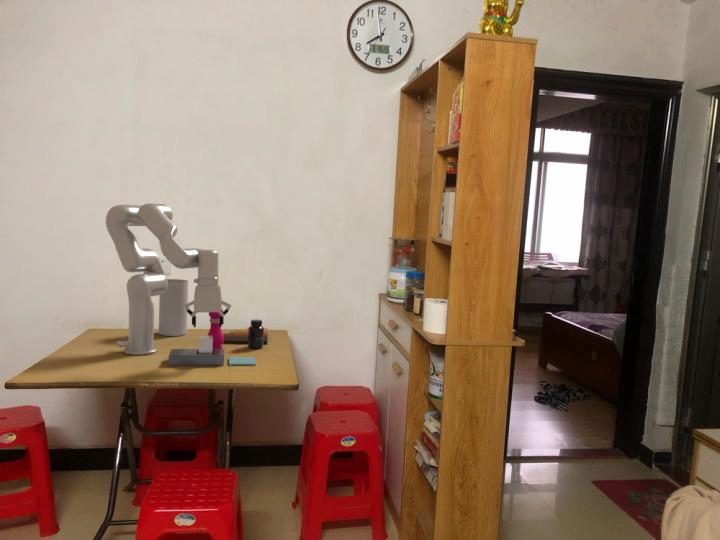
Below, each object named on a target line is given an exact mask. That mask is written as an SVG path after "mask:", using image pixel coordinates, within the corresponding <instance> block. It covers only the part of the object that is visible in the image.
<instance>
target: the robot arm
mask: <svg viewBox="0 0 720 540" xmlns="http://www.w3.org/2000/svg"><path fill="white" fill-rule="evenodd" d="M173 214H174V213H173V211H172V209H171V208H170V207H169V206H168V205H166V204H162V203H151V202H150V203H145V204H142V205H137V204H135V205H133V204H118V205H113V206H112V207H111V208H109V210H108V211H107V213H106V216H105V226H106V231H107V232H108V234H109V236H110V238H111V240H112V242H113V244H114V246H115V250H116V253H117V255H118V258H119V260H120V263H121V266H122V267H123V270H124V271H126V272H127V273H138V274H134V275H132V276H131V277H129V279H128V280H127V282H126V292H127V298H128V340H125V341H116V346H117V347H118V348H123V347H124V350H123V352H124V354H126V355H132V356H145V355H152V354H155V353H157V352H158V348H157V346H154V338H155V337H154V334H155V333H154V332H155V331H154V330H155V305H154V302H153V300H152V298H151V297H156V296H160V295H161V294H163V293H165V292H166V290H167V288H168V280H167V279H168V277H167V274H166V272H165V269H164V267H163V265H162V260H161V258H160V257H159V254H158V253H157V252H156V251H154V250H153V249H150V248H142V247H140V245H139V243H138V241H137V237H136V236H135V234H134V233H133V232H132V231H131V230H130V229H129V228H128V227H146V228H147V229H148V230H149V231H150V232H151V234H153V235H154V237H156V239H157V240H158V241H159V242H158V243H159V244H158V245H159V248H160V251H161V254H162V255H163V257H165V259H167V261H168V262H169V263H170V264H171V265H172V266H173V267H175V268H176V269H181V270H184V269H195V268H197V277H196V278H194V279H193V283H194V284H197V285H196V286H195V288H194V296H193V300H192V301H190V302H188V304H185V305H184V307H185V309H186V311H187V314H189V316H191V326H193V328H196V327H197V316H196V315H197V314H198V313H209V312H218V313H219V314H220V327H221V328H222V326H223V325H224V323H225V322H224V317H225V316H226V314H228V312H229V311H230V309H231V307H232V304H230V303H228V302H227V301H224V300H222V289H221V285H219V252H218V250H216V249H201V248H198V247H197V248H196V247H194V248H190V247H189V248H182V247H181V246H180V245H179V244H178V242H176V241H175V239H174V238H175V236H176V235H177V233H178V226H177V225H176V224H175V223H174V222H173V221H172V220H173V216H174V215H173ZM141 272H143V273H141ZM222 305H223V306H225V307H226V308H225V310H223V309H222ZM191 306H193V311H192V310H191V309H190V307H191ZM221 309H222V310H223V311H222V310H221Z"/></svg>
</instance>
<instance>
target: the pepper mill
mask: <svg viewBox="0 0 720 540" xmlns="http://www.w3.org/2000/svg"><path fill="white" fill-rule="evenodd" d="M221 310H222V311H224V310H223V308H221ZM208 316H209V317H210V318H209V323H210V328H209V331H208V332H207V335H206V336H213V349H224V348H223V347H224V346H223V345H222V343H223V342H224V336H223V331H222V327H220V314H219V313H218V312H208Z"/></svg>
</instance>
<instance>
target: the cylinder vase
mask: <svg viewBox="0 0 720 540" xmlns="http://www.w3.org/2000/svg"><path fill="white" fill-rule="evenodd" d="M167 280H168V288H167V290H166V292H165V293H163V294H161V295H158V298H159V307H158V308H159V309H158V334H159V335H160V336H165V337H181V335H182V336H184V335H186V334H187V333H188V313H187V311H186V309H185V307H184V305H185V304H188V303H189V302H188V301H189V299H188V298H189V297H188V296H189V280H187V279H182V278H181V279H179V278H176V279H175V278H167Z"/></svg>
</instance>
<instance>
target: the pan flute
mask: <svg viewBox="0 0 720 540" xmlns="http://www.w3.org/2000/svg"><path fill="white" fill-rule="evenodd" d="M248 328H249V327H246V328H241V329H240V330H237V329H235V330H234V331H229V333H226V332H224V333H223V332H222V334H223V336H224V342H223V343H225V344H227V345H228V344H229V345H231V344H235V345H247V343H248ZM263 328H264V340H263V345H268V337H269V336H268V334H269V329H268V327H263Z"/></svg>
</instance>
